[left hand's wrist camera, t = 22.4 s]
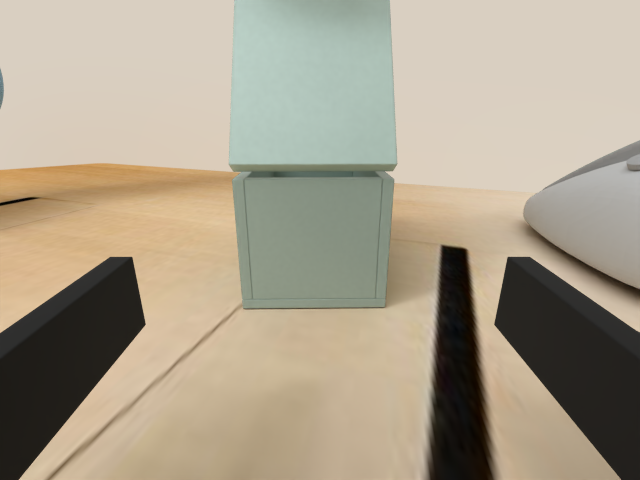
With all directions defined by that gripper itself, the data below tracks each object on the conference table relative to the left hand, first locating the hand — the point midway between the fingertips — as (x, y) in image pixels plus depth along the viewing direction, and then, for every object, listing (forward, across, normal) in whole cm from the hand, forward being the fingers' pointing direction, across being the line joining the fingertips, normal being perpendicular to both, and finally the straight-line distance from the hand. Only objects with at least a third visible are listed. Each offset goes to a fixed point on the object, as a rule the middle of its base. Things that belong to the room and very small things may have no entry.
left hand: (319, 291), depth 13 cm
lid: (+15, 0, +10) cm, 18 cm away
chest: (+19, -1, -7) cm, 20 cm away
